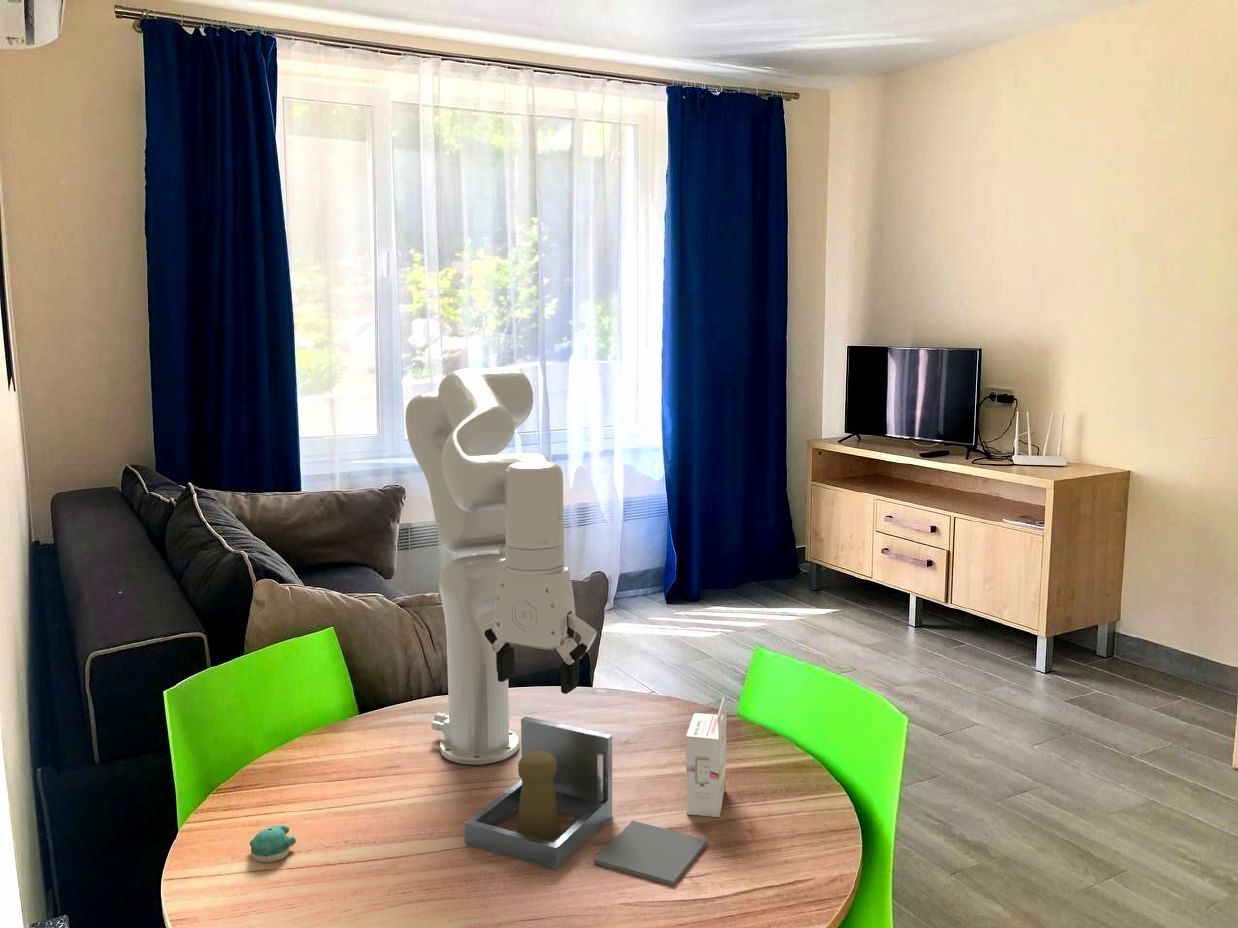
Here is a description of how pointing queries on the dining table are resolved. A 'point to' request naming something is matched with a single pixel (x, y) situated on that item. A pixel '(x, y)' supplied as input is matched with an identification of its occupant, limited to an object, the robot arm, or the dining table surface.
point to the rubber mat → (651, 852)
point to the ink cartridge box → (706, 763)
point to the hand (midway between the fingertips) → (537, 684)
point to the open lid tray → (576, 791)
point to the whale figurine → (271, 844)
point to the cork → (538, 796)
